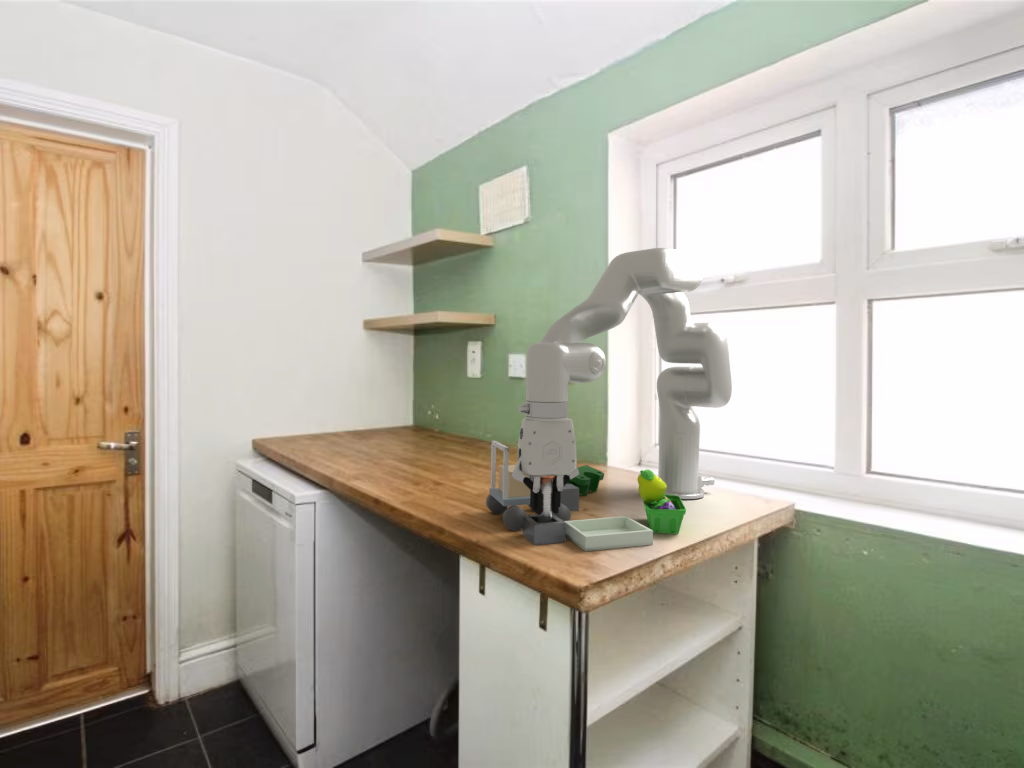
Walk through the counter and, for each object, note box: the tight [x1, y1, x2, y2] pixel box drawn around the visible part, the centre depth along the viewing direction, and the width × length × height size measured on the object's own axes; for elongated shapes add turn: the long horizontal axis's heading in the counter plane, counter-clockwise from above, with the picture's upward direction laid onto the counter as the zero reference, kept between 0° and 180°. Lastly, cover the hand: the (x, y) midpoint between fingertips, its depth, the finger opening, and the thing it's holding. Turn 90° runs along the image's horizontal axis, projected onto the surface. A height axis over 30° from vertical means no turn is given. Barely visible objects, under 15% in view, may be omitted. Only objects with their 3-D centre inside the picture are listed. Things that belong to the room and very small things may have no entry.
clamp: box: [567, 464, 605, 497], centre depth 132 cm, size 12×6×9 cm, turn 135°
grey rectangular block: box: [560, 484, 580, 512], centre depth 116 cm, size 6×4×5 cm
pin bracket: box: [522, 514, 567, 546], centre depth 96 cm, size 6×6×4 cm
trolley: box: [485, 440, 572, 532], centre depth 108 cm, size 13×14×16 cm
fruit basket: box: [637, 469, 687, 535], centre depth 105 cm, size 11×9×11 cm
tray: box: [564, 515, 654, 552], centre depth 96 cm, size 13×9×2 cm
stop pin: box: [538, 475, 556, 523], centre depth 96 cm, size 4×4×12 cm
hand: (545, 511), depth 96 cm, fingers closed on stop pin, 2 cm apart
